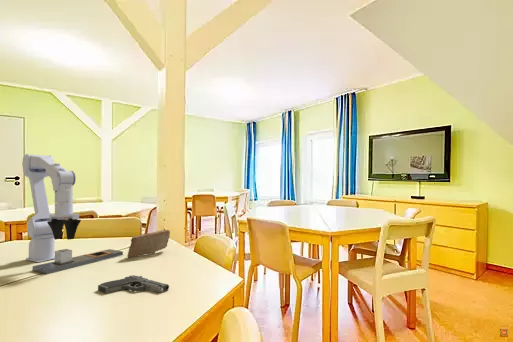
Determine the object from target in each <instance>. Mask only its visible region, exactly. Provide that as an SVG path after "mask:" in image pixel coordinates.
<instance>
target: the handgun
mask: <svg viewBox="0 0 513 342" xmlns="http://www.w3.org/2000/svg"><path fill="white" fill-rule="evenodd" d="M169 289H170V285H169V284H167V283H162V282H160V281H156V280H152V279H149V278H145V277H143V276H142V275H135V274H134V275H133V274H132V275H128V276H125V277H123V278H121V279H116V280H109V281H106V282H102V283H100V284H98V286H97V291H98V292H101V293H104V294H106V295H108V294H110V293H114V292H119V291H122V290H129V291H130V292H131V291H132V292H140V291H141V292H142V291H152V292H156V293H164V292H166V291H168V290H169Z"/></svg>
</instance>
